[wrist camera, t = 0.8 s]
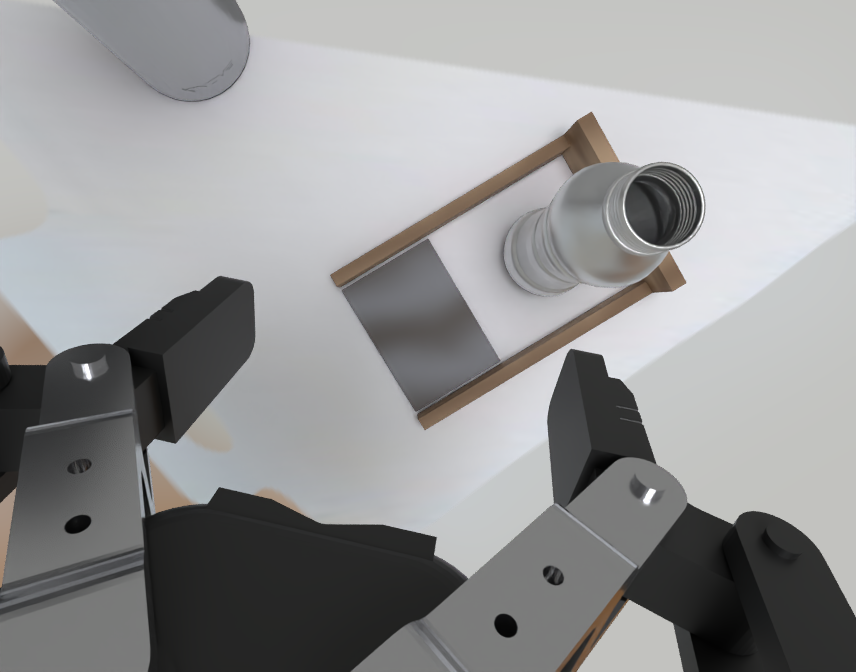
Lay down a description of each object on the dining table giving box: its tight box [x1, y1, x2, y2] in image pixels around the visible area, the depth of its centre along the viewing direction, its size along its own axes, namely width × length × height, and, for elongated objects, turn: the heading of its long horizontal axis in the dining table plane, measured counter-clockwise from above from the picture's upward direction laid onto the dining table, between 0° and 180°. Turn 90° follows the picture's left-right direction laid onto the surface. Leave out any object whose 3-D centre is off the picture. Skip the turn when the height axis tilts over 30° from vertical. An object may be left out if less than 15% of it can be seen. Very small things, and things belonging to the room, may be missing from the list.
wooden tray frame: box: [330, 112, 686, 430], centre depth 38 cm, size 14×22×5 cm, turn 121°
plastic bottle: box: [504, 162, 705, 296], centre depth 31 cm, size 6×7×20 cm
